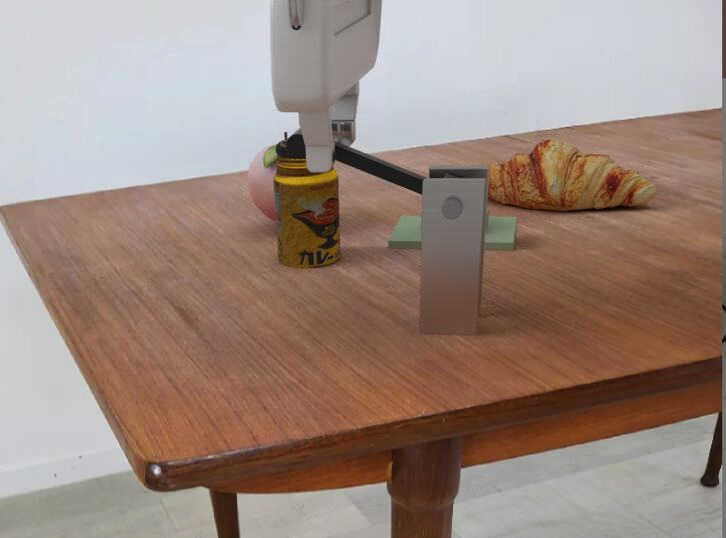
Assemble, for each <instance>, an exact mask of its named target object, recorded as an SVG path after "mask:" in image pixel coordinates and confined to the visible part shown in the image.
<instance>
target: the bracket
mask: <svg viewBox="0 0 726 538" xmlns="http://www.w3.org/2000/svg"><path fill="white" fill-rule="evenodd" d="M445 173H448V174H451V175H453V176H456V177H458V178H444V176H445ZM488 182H489V164H485V165H484V164H483V165H482V164H481V165H479V164H477V165H476V164H475V165H473V164H472V165H471V164H470V165H465V164H464V165H462V164H461V165H459V164H458V165H456V164H455V165H430V167H429V168H428V177H426V178H425V179H424V180H423V184H422V195H421V212H422V230H421V249H420V276H419V277H420V279H419V280H420V281H419V283H420V284H419V327H418V328H419V329H418V334H419V335H435V336H436V335H439V336H440V335H441V336H466V337H467V336H468V337H476V336H477V332H478V321H479V320H478V319H479V318H480V317H481V313H482V298H483V281H484V264H485V263H484V262H485V250H484V249H485V232H486V215H487V207H488V199H489V198H488V196H489V195H488Z"/></svg>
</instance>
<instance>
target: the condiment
mask: <svg viewBox="0 0 726 538" xmlns="http://www.w3.org/2000/svg"><path fill="white" fill-rule="evenodd" d="M287 140H288V138H287V139H285V138H284V139H282V140H280V141H278V142H277V143H276V144H277V145H276V149H275V151H276V153H277V160H276V170H277V172H276V174H275V175H274V196H275V197H274V200H275V211H276V222H275V226H276V227H275V228H276V243H277V244H276V245H277V256H278V258H277V259H278V263H279V264H280V265H282V266H285V267H289V268H293V269H300V270H301V269H316V268H325V267H327V266H330V265H331V266H332V265H333V264H336V263H338V262H339V261H340V260H341V257H342V253H341V225H340V224H341V222H340V197H339V196H340V195H339V194H340V193H339V190H340V189H339V188H340V181H339V174H338V172H337V170H336V169H335V168H334V167H335V166H334V165H335V164H334V165H333V167H332V168H331V169H330V170H329V171H328V172H311V171H309V170H308V168H307V163H306V156H304V157H303V158H301V159H295V158H292V157H291V156H290V155H289V154H288V152H287V150H286V142H287Z"/></svg>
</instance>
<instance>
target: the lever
mask: <svg viewBox="0 0 726 538" xmlns="http://www.w3.org/2000/svg"><path fill="white" fill-rule="evenodd" d="M287 139H288V140H287V142H286V150H287V152H288V154H289V155H290V156H291V157H292V158H295V159H301V158H303V157H304V156H306V146H305V143H304V139H303V136H302V132H301V128H300V127H299V128H298V129H297V130H296V131H294V132H292V134H291V135H290V136H289V137H287ZM333 141H334V140H333ZM335 162H338V163H341V164H343V165H346V166H347V167H348V166H349V167H351V168H354V169H356V170H358V171H361V172H363V173H366V174H368V175H371V176H374V177H377V178H379V179H381V180H383V181H386V182H389V183H391V184H393V185H396V186H399V187H401V188H403V189H406V190H409V191H411V192H413V193H416V194H418V195H421V196H422V184H423V180H424V179H425V178H427V177H426V176H424V175H421V174H419V173H416V172H414V171H412V170H410V169H407V168H404V167H401V166H399V165H396V164H394V163H391V162H389V161H386V160H384V159H381V158H379V157H376V156H374V155H372V154H369V153H366V152H364V151H361V150H359V149H357V148H354V147H351V146H346V145H344V144H341V143H339V142H336V141H335ZM444 178H458V177H456V176H453V175H451V174H448V173H445V176H444Z"/></svg>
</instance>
